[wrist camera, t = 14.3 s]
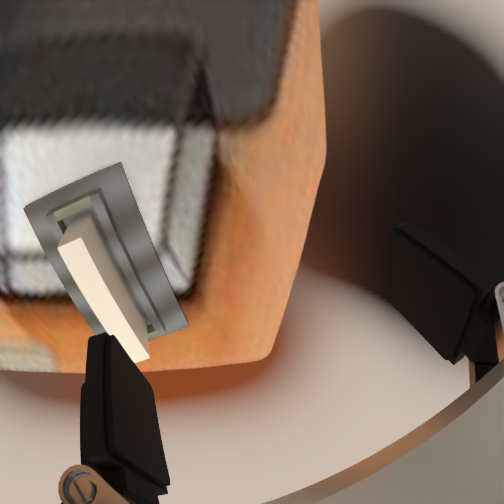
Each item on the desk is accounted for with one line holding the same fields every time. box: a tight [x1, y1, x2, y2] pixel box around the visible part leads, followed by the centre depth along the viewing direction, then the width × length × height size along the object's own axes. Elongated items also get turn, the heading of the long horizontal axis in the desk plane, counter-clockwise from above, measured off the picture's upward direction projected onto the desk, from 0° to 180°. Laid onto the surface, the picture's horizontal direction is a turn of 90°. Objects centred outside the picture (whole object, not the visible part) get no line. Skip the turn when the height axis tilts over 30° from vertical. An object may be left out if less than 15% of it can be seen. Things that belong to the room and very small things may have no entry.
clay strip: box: [57, 211, 150, 363], centre depth 36 cm, size 18×3×8 cm, turn 14°
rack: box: [24, 162, 189, 341], centre depth 39 cm, size 26×14×3 cm, turn 14°
